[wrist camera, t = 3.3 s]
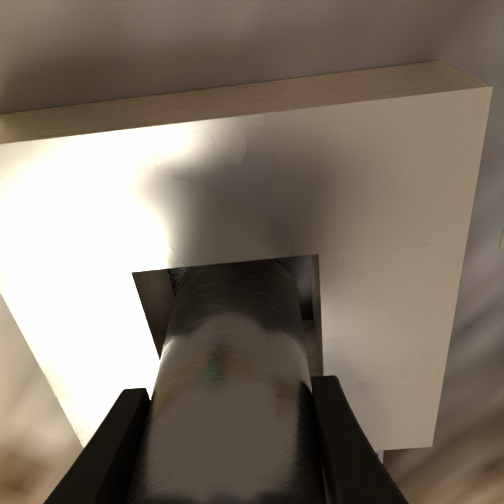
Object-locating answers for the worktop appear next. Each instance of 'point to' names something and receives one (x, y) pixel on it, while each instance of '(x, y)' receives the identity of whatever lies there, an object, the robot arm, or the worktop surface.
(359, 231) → the housing
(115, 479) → the robot arm
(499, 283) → the worktop surface
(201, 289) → the grey cylinder
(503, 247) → the mat
